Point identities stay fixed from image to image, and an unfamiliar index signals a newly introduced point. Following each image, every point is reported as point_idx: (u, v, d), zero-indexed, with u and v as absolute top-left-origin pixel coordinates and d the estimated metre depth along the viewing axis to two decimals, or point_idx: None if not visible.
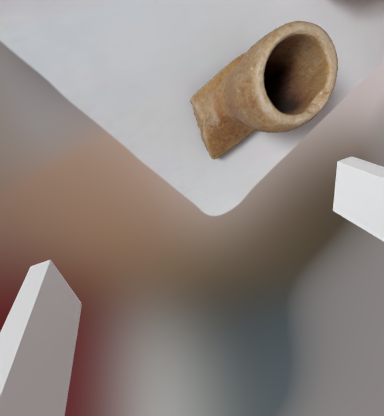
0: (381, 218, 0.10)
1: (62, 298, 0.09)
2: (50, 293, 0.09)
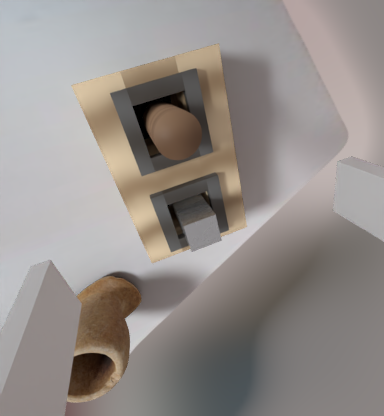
0: (381, 218, 0.10)
1: (62, 298, 0.09)
2: (50, 293, 0.09)
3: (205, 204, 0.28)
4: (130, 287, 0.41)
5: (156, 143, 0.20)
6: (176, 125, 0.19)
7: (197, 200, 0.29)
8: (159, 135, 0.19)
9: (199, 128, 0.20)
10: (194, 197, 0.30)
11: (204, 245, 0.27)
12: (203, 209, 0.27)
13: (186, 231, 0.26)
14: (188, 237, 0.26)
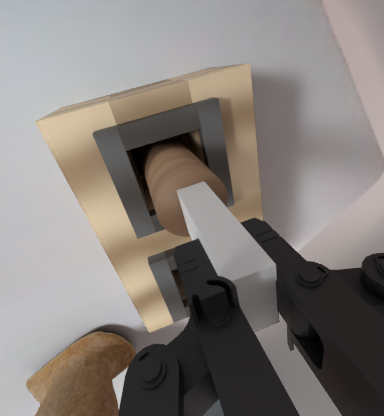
0: None
1: None
2: None
3: None
4: (122, 343, 0.34)
5: (159, 217, 0.13)
6: None
7: None
8: (164, 206, 0.13)
9: (224, 193, 0.13)
10: None
11: None
12: None
13: None
14: None
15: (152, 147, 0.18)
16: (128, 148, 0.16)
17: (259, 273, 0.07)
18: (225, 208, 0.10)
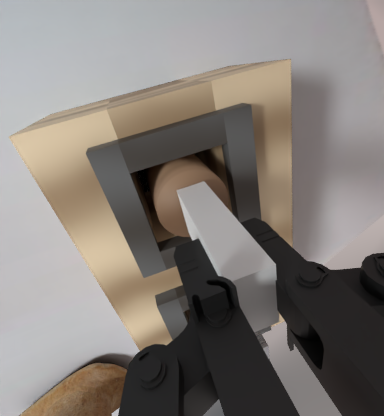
0: None
1: None
2: None
3: None
4: (124, 375, 0.31)
5: (160, 217, 0.13)
6: None
7: None
8: (165, 206, 0.13)
9: (225, 194, 0.13)
10: None
11: None
12: None
13: None
14: None
15: None
16: (133, 170, 0.12)
17: (259, 273, 0.07)
18: (225, 208, 0.10)
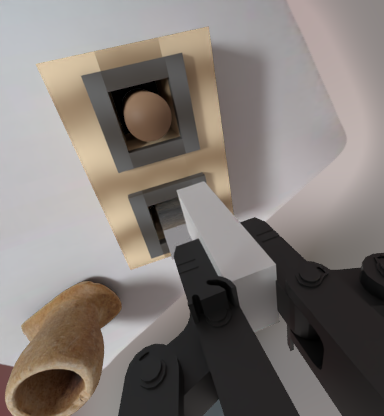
0: None
1: None
2: None
3: None
4: (109, 294, 0.38)
5: (127, 123, 0.21)
6: (145, 107, 0.20)
7: None
8: (130, 116, 0.20)
9: (169, 111, 0.21)
10: (178, 199, 0.27)
11: None
12: None
13: (166, 236, 0.23)
14: (168, 243, 0.23)
15: (128, 93, 0.25)
16: (109, 90, 0.20)
17: (259, 273, 0.07)
18: (225, 208, 0.10)
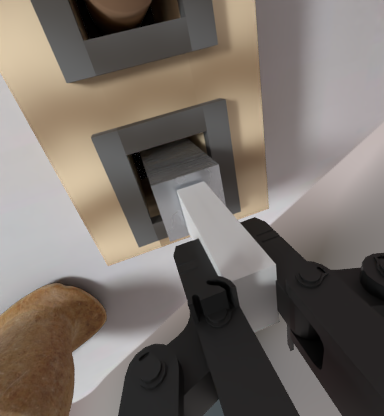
0: None
1: None
2: None
3: (198, 152, 0.15)
4: (88, 300, 0.28)
5: None
6: None
7: (184, 149, 0.16)
8: None
9: None
10: (179, 146, 0.17)
11: None
12: (194, 159, 0.14)
13: (157, 198, 0.12)
14: (162, 211, 0.13)
15: None
16: None
17: (259, 273, 0.07)
18: (225, 208, 0.10)
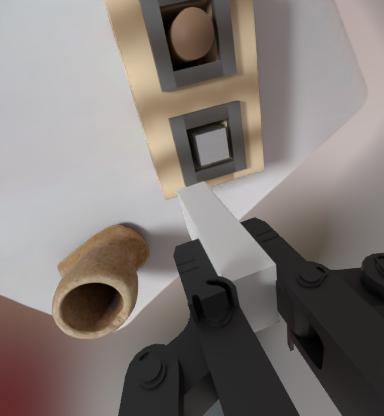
0: None
1: None
2: None
3: (215, 124, 0.30)
4: (139, 239, 0.40)
5: (174, 38, 0.23)
6: (192, 22, 0.22)
7: (208, 124, 0.31)
8: (177, 30, 0.22)
9: (212, 29, 0.23)
10: None
11: (213, 160, 0.29)
12: (213, 127, 0.29)
13: (197, 142, 0.28)
14: (199, 149, 0.28)
15: None
16: (161, 4, 0.22)
17: (259, 273, 0.07)
18: (225, 208, 0.10)
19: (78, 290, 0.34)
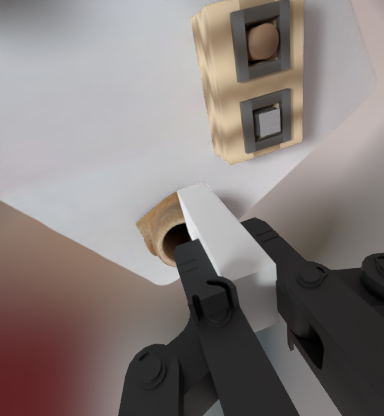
0: None
1: None
2: None
3: (269, 107, 0.40)
4: None
5: (253, 45, 0.33)
6: (265, 33, 0.33)
7: (262, 107, 0.41)
8: (255, 39, 0.33)
9: (277, 37, 0.33)
10: None
11: (269, 133, 0.40)
12: (269, 108, 0.39)
13: (260, 119, 0.38)
14: (260, 124, 0.38)
15: None
16: (246, 22, 0.32)
17: (259, 273, 0.07)
18: (225, 208, 0.10)
19: None
